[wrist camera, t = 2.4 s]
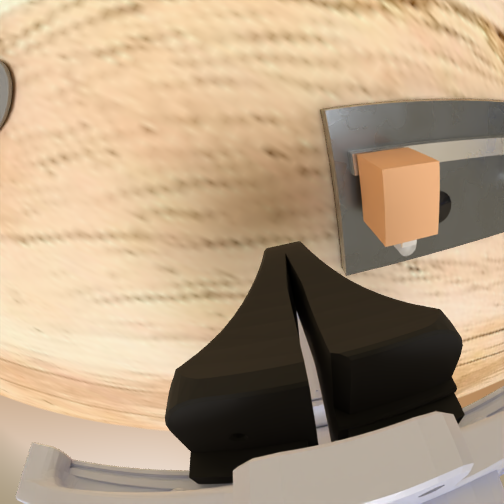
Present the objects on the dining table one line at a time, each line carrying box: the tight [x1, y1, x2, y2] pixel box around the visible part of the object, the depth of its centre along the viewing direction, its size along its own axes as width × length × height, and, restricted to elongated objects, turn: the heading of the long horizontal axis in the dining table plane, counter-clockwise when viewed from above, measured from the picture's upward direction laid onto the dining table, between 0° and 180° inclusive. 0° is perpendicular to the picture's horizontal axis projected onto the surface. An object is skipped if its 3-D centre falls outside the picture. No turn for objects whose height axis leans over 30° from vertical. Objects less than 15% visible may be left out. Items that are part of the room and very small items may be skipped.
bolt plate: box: [320, 99, 504, 276], centre depth 17 cm, size 12×24×6 cm, turn 103°
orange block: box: [357, 147, 440, 256], centre depth 17 cm, size 6×4×4 cm, turn 13°
